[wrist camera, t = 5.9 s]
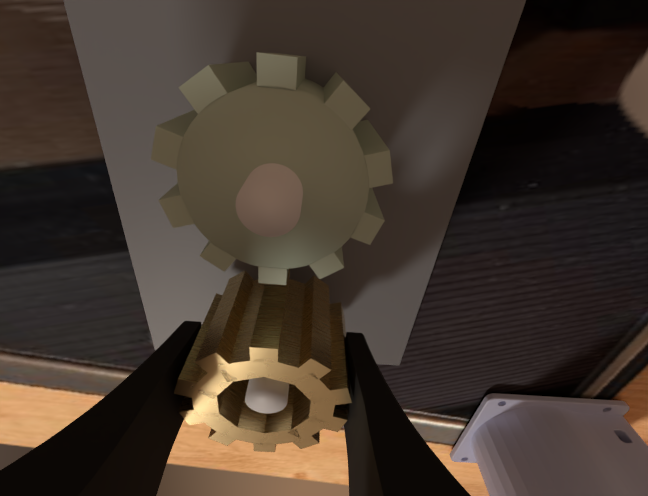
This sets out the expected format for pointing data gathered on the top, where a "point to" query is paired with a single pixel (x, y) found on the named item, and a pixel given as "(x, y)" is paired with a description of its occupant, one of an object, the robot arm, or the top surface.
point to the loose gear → (268, 363)
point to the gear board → (394, 83)
